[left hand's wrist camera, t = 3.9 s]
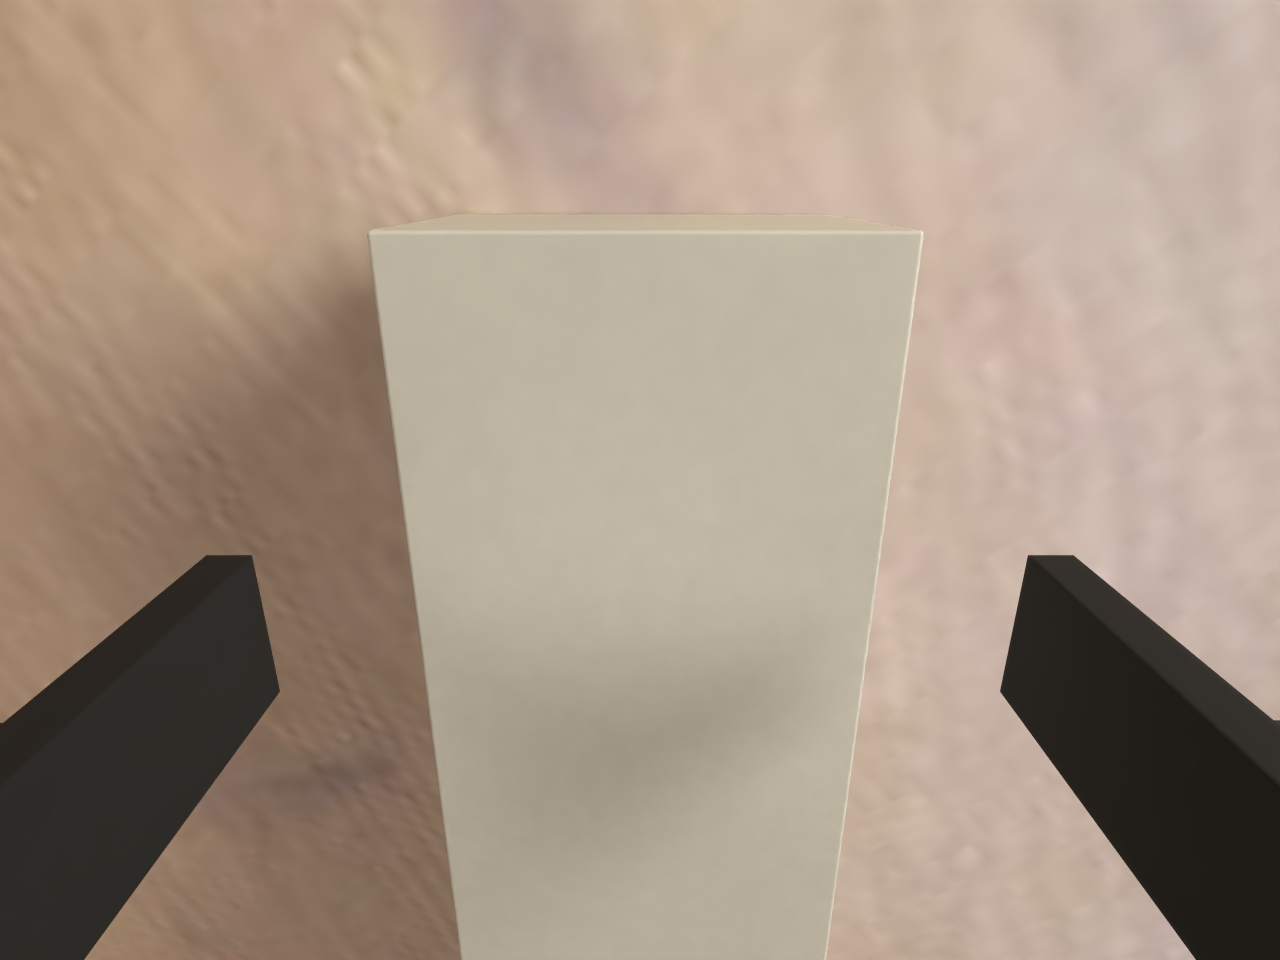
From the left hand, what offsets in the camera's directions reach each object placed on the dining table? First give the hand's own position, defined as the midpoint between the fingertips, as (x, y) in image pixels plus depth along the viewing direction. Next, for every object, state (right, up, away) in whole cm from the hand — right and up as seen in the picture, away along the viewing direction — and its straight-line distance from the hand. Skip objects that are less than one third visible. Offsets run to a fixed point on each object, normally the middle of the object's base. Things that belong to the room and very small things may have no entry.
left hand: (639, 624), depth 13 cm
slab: (0, -16, +16) cm, 23 cm away
